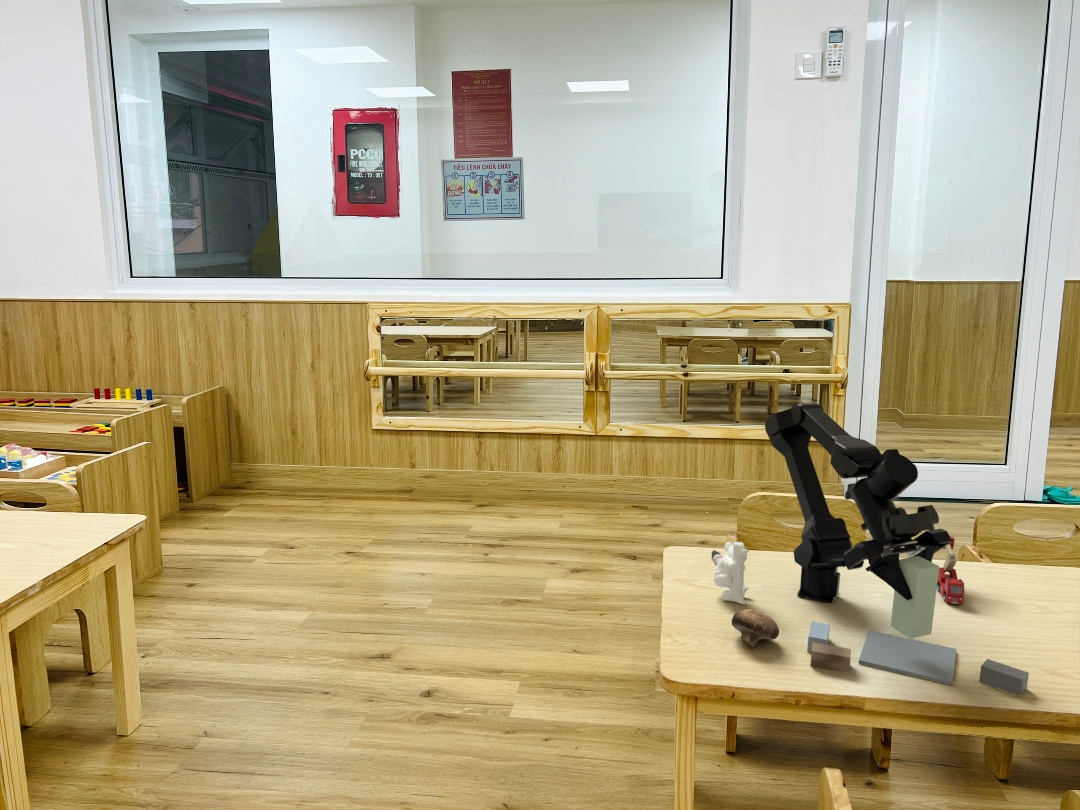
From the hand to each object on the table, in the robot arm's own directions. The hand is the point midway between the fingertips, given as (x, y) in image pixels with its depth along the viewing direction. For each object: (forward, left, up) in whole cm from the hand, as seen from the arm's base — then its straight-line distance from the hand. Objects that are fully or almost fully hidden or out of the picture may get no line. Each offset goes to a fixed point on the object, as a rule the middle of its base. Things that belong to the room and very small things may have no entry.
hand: (921, 597), depth 138 cm
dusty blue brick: (-15, -2, -12) cm, 19 cm away
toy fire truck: (+3, +33, -12) cm, 35 cm away
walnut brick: (-12, -8, -12) cm, 19 cm away
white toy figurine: (-33, +9, -12) cm, 36 cm away
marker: (-39, +22, -12) cm, 46 cm away
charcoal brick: (+13, -1, -12) cm, 18 cm away
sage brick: (-1, +1, -7) cm, 7 cm away
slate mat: (-1, +1, -11) cm, 12 cm away
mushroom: (-25, -6, -12) cm, 28 cm away
